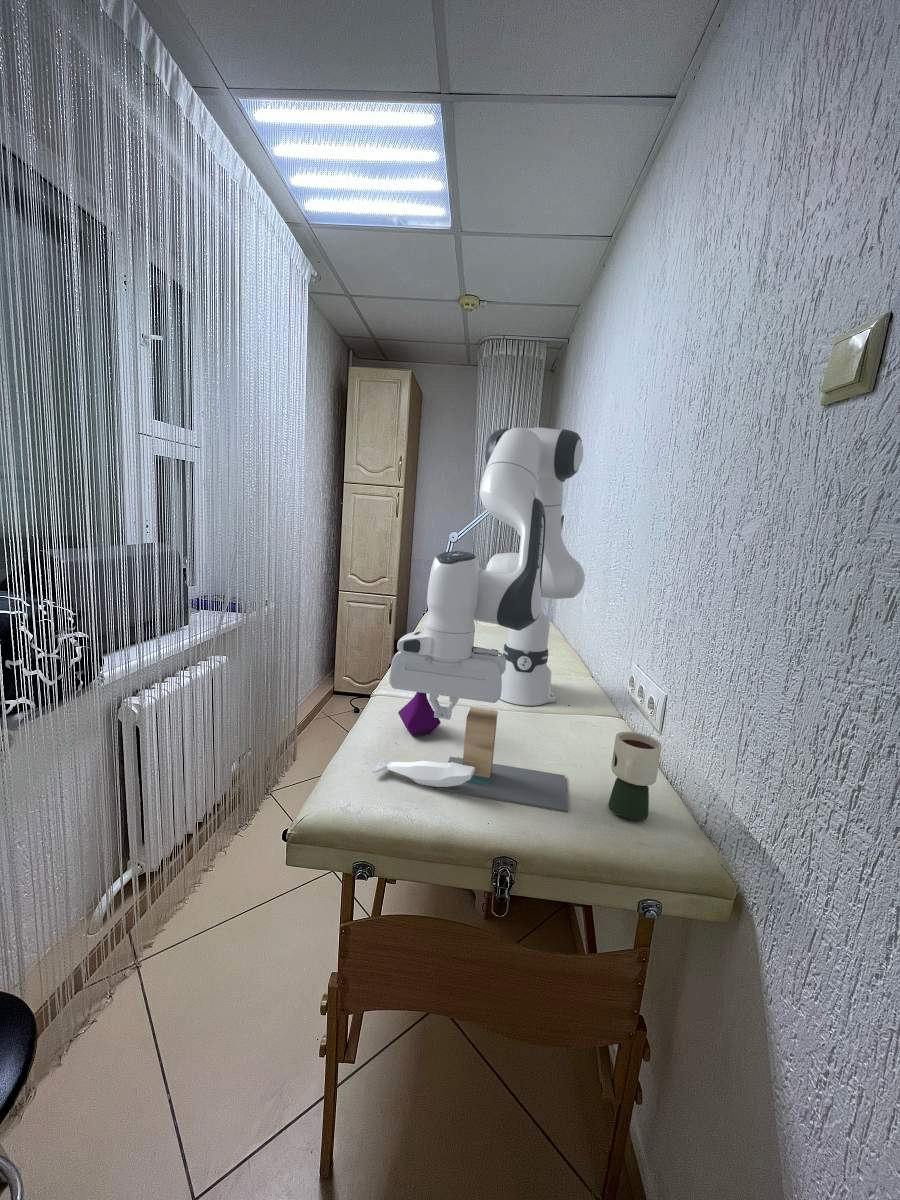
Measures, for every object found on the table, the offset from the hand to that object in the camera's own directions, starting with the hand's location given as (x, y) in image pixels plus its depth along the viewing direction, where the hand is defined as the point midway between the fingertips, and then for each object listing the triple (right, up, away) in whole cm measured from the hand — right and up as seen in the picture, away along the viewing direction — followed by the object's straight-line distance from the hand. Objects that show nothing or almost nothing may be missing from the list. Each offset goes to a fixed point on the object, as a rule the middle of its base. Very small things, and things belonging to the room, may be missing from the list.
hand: (442, 717), depth 90 cm
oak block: (+6, -11, 0) cm, 12 cm away
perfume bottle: (-6, -8, +18) cm, 21 cm away
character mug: (+31, -15, -7) cm, 35 cm away
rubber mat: (+11, -12, 0) cm, 16 cm away
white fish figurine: (-3, -11, -3) cm, 12 cm away
